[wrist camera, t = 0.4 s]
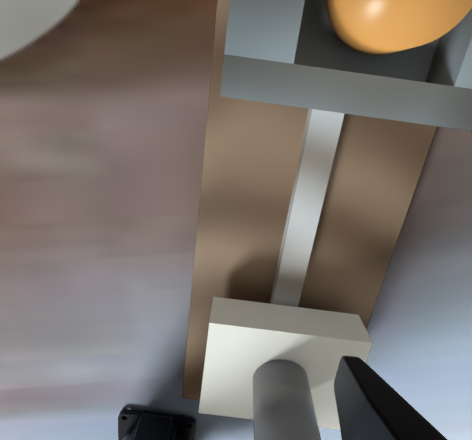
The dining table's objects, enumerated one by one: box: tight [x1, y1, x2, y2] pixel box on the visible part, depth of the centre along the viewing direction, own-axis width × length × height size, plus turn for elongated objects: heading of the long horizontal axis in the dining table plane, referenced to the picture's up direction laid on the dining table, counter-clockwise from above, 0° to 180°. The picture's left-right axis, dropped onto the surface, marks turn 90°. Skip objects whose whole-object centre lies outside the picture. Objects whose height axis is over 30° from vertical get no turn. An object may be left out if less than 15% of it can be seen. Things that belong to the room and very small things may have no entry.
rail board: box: [182, 0, 472, 400], centre depth 17 cm, size 30×12×8 cm, turn 173°
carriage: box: [199, 297, 373, 440], centre depth 18 cm, size 7×9×7 cm
